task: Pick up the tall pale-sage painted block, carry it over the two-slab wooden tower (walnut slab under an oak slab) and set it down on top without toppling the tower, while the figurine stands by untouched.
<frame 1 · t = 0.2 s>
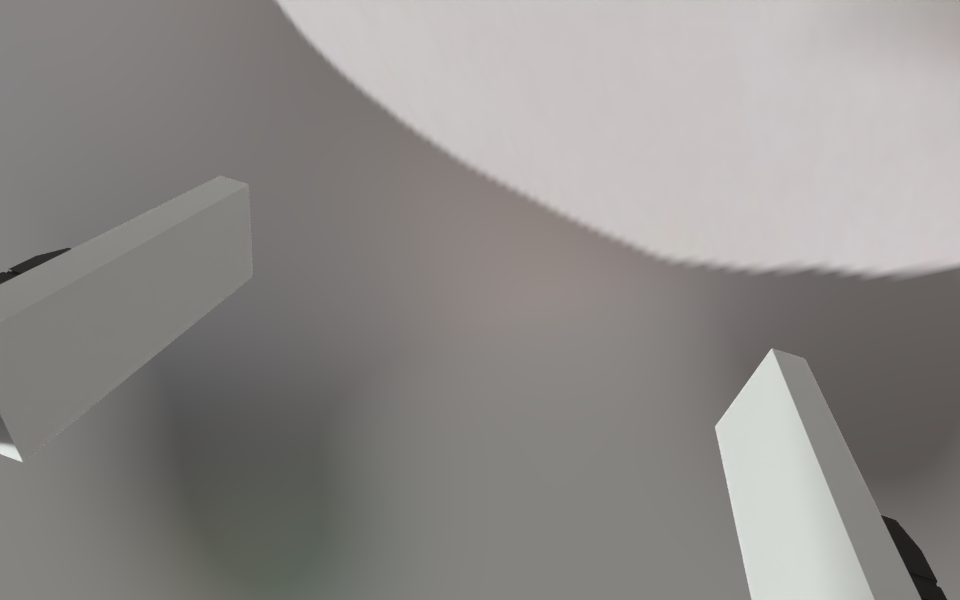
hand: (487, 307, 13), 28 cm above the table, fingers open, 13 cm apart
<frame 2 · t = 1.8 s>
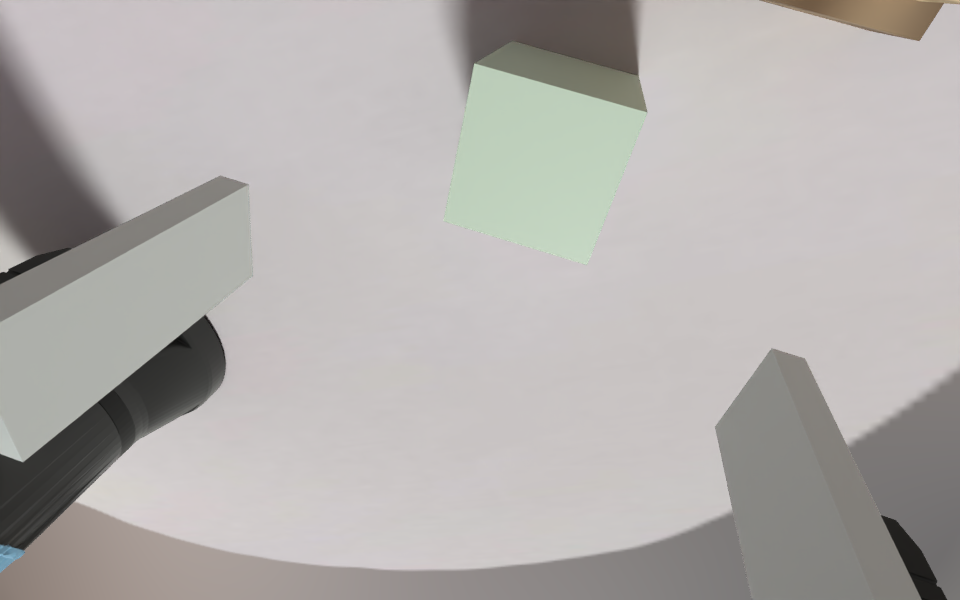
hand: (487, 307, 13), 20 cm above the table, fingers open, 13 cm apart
sage block: (555, 123, 29), on the table
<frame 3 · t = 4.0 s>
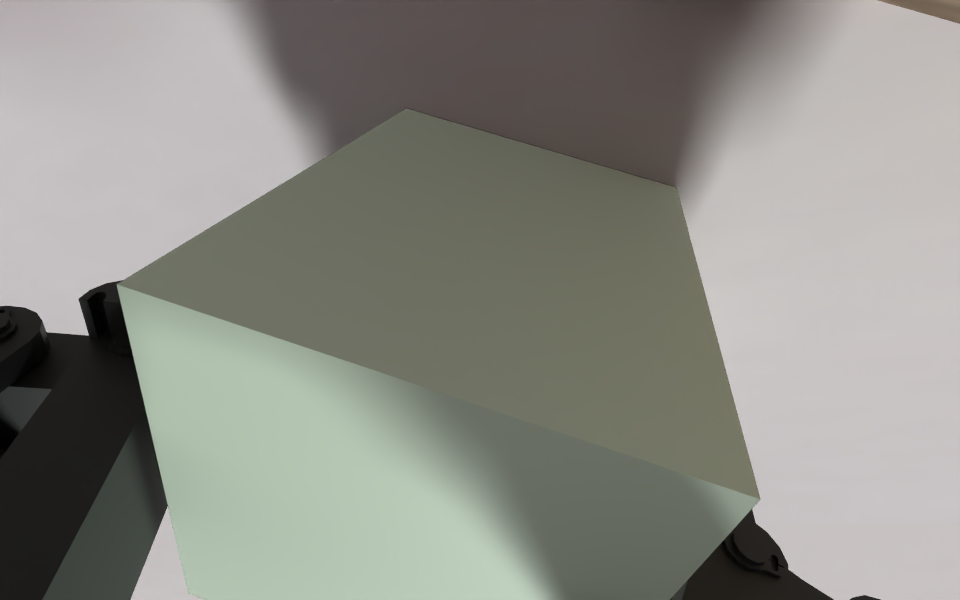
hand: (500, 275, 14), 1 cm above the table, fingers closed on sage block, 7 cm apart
sage block: (504, 265, 15), on the table, touching gripper
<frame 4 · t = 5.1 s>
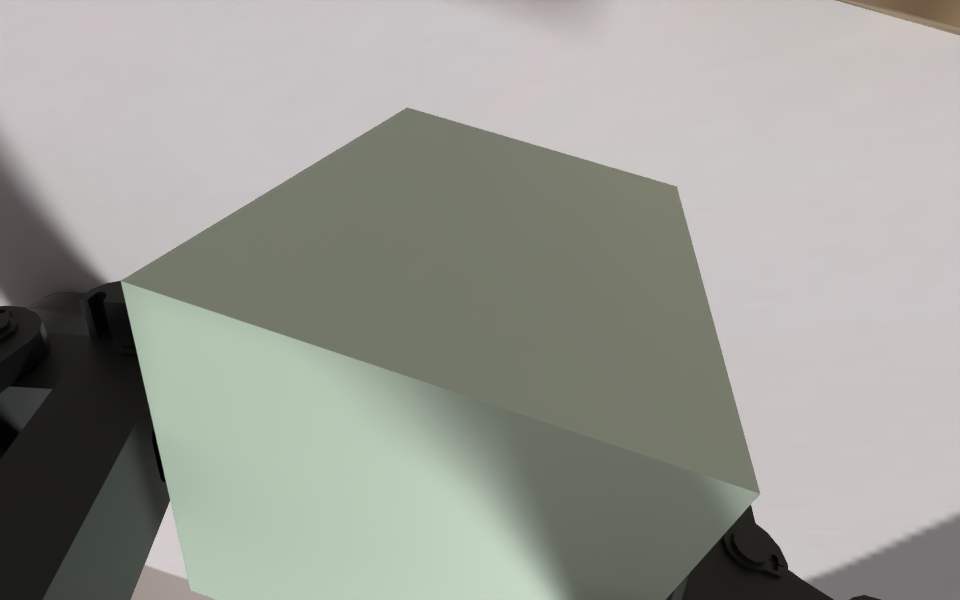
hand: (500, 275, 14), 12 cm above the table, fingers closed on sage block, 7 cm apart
sage block: (505, 264, 15), point 11 cm above the table, touching gripper
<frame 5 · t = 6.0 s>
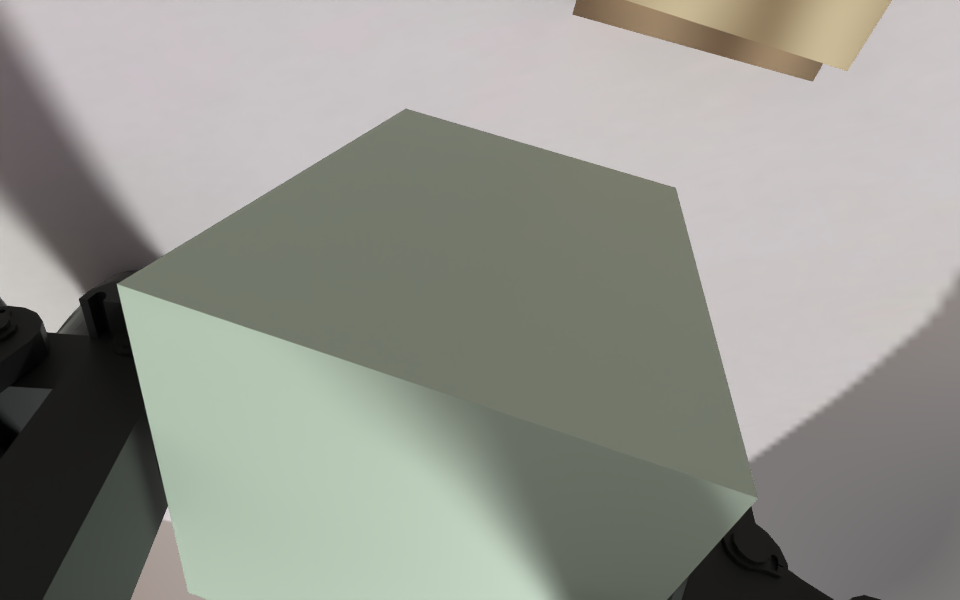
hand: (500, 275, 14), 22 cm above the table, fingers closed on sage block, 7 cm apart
sage block: (504, 265, 15), point 21 cm above the table, touching gripper
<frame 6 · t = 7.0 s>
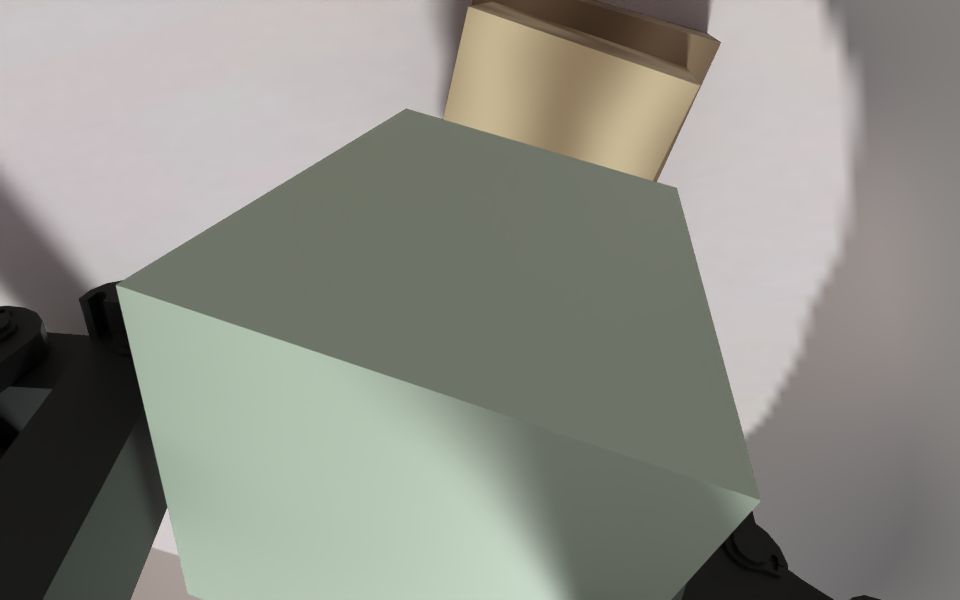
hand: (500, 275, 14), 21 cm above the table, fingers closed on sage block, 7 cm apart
oak slab: (554, 133, 28), point 5 cm above the table
walnut slab: (566, 110, 32), on the table
sage block: (504, 265, 15), point 20 cm above the table, touching gripper
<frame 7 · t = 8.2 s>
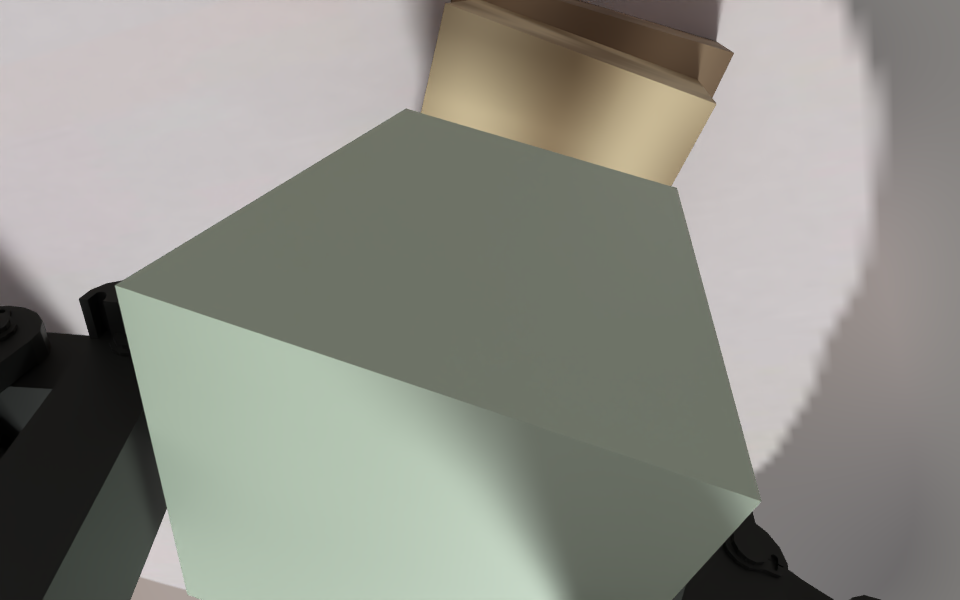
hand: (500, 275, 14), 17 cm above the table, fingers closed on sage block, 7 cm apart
oak slab: (545, 149, 25), point 5 cm above the table, touching walnut slab
walnut slab: (558, 124, 29), on the table, touching oak slab
sage block: (504, 265, 15), point 17 cm above the table, touching gripper
when the fingers open (11 cm above the table, at t = 10.7 s): sage block drops 1 cm, resting on oak slab.
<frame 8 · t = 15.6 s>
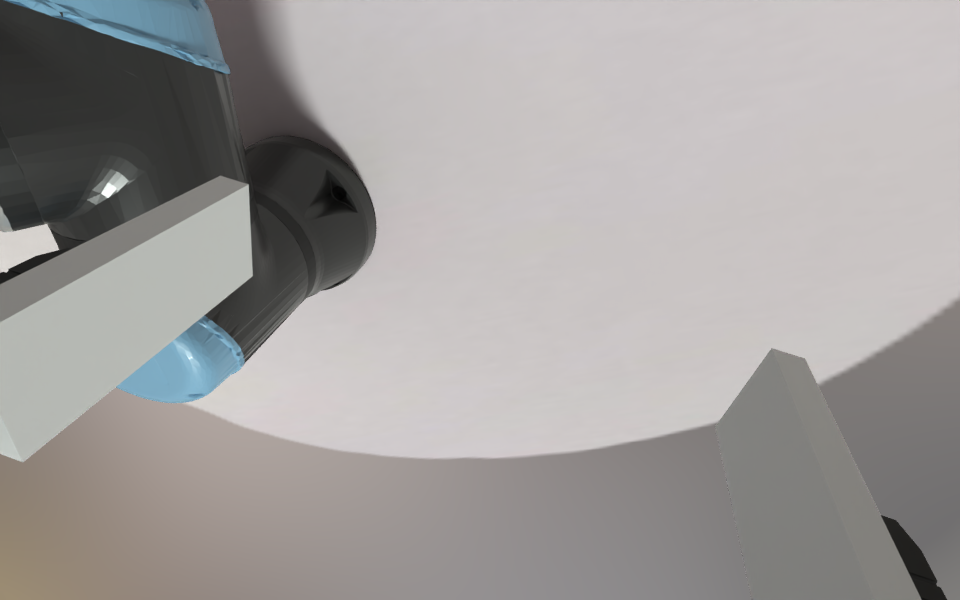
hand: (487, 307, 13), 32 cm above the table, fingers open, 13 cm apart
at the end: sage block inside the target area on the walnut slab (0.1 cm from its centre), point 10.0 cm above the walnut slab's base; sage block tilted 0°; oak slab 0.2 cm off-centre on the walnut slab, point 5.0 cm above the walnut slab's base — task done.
